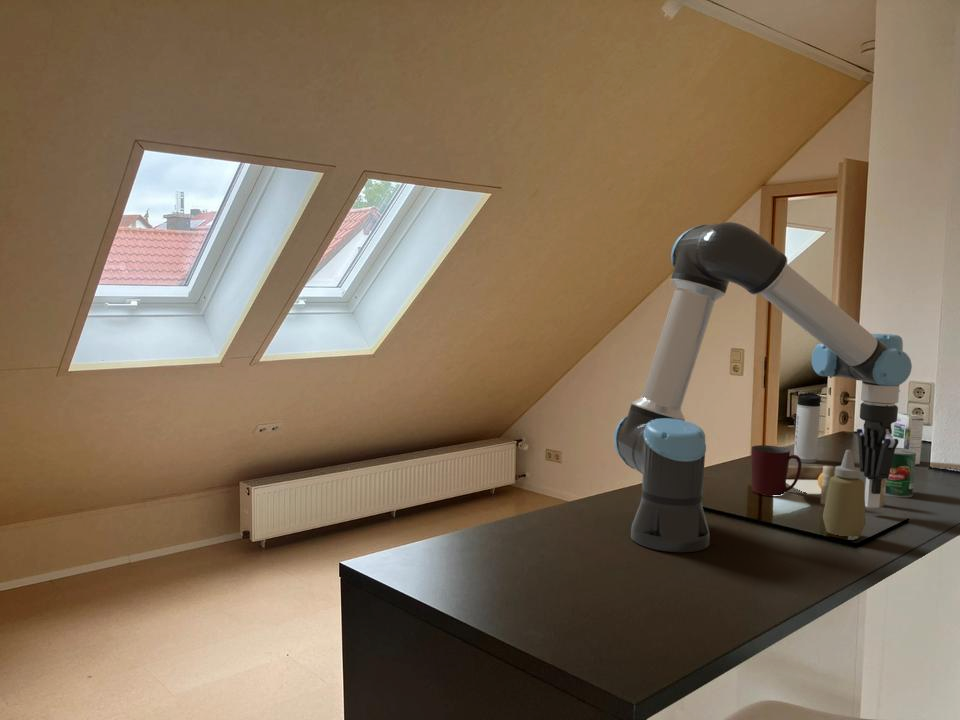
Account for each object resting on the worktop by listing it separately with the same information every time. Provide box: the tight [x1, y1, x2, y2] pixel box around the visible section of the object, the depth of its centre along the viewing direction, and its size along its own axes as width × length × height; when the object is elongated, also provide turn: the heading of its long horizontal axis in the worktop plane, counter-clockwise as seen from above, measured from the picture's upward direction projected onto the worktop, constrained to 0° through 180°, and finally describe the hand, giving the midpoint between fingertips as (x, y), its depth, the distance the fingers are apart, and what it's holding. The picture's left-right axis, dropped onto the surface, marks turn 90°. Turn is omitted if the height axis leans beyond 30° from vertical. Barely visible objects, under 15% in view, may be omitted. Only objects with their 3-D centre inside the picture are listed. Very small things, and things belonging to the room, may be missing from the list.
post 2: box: [879, 479, 886, 508], centre depth 188 cm, size 3×3×9 cm
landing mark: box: [786, 479, 821, 495], centre depth 204 cm, size 14×14×1 cm
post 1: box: [820, 465, 836, 503], centre depth 187 cm, size 3×3×9 cm
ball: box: [817, 473, 836, 489], centre depth 198 cm, size 6×6×6 cm
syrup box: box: [892, 412, 925, 465], centre depth 235 cm, size 6×6×14 cm
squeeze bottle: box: [822, 449, 866, 537], centre depth 162 cm, size 8×8×18 cm
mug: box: [750, 444, 802, 495], centre depth 195 cm, size 12×9×11 cm
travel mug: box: [793, 392, 822, 464], centre depth 234 cm, size 6×7×20 cm
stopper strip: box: [786, 465, 824, 480], centre depth 213 cm, size 16×2×3 cm, turn 93°
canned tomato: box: [885, 448, 916, 498], centre depth 199 cm, size 8×8×11 cm
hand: (871, 506), depth 180 cm, fingers closed
